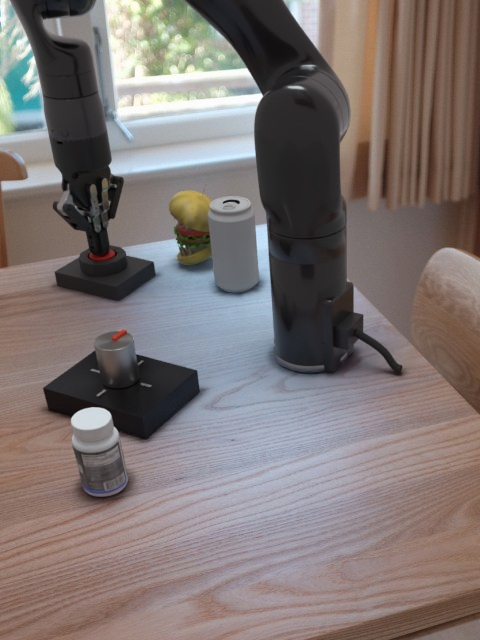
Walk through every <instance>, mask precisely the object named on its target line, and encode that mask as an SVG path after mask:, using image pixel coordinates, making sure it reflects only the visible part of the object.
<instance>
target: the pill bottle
mask: <svg viewBox="0 0 480 640" xmlns="http://www.w3.org/2000/svg"><path fill="white" fill-rule="evenodd" d="M70 425H71V431H72V434H73V435H72V437H71V446H72V449H73V453H74V456H75V461H76V465H77V470H78V474H79V477H80V481H81V485H82V488H83V490H84V491H85V492H86V494H88V495H90V496H92V497H98V498H99V497H100V498H103V497H110V496H115V495H116V494H118V493H120V492H121V491H123V490H124V489H125V488H126V486H127V485H128V481H129V477H128V471H127V466H126V461H125V456H124V451H123V447H122V442H121V437H120V432H119V431H117V429H116V428H115V427H114V426H113V421H112V416H111V414H110V412H109V411H107V410H106V409H103V408H98V407H91V408H86V409H83V410H80V411H78V412H77V413H75V414H74V415H73V417H71V418H70Z"/></svg>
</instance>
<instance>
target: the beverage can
mask: <svg viewBox="0 0 480 640" xmlns="http://www.w3.org/2000/svg"><path fill="white" fill-rule="evenodd" d="M208 222H209V231H210V241H211V250H212V256H211V260H212V268H213V277H214V283H215V285H216V286H217V287H219V288H221V289H222V291H224V292H228V293H234V294H235V293H245V292H247V291H249V290H251V289H253V288H254V287H255V286H256V285H257V284H258V283H259V281H260V271H259V270H260V269H259V257H258V244H257V230H256V229H257V228H256V214H255V210H254V209H253V207H252V202H251V201H250V199H249V198H246V197H243V196H238V195H229V196H228V195H227V196H221V197H218V198H215V199H212V202H211V203H210V210H209V212H208Z"/></svg>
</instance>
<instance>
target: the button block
mask: <svg viewBox="0 0 480 640" xmlns="http://www.w3.org/2000/svg"><path fill="white" fill-rule="evenodd" d="M109 249H111V250H113V251H114V252H115V257H114V258H112V259H109V260H106V261H93V260H90V257H89V255H90V253H91V252H90V250H89V247H88V248H87V249H84V250H83V251H82V252H80V253H79V255H78V257H77V258H75V259H73V260H71V261H70V262H68V263H67V264H65V265H63V266H61V267H60V268H58V269H57V270H55V271H54V277H55V281H56V286H57V287H60V288H64V289H68V290H74V291H78V292H81V293H86V294H90V295H93V296H98V297H101V298H106V299H109V300H114V301H118V302H119V301H120V300H122V299H124V298H125V297H126V296H128V295H130V293H132V292H134V291H136V290H137V289H138V288H140V287H141V286H142V285H144V284H145V283H146V282H149V281H150V280H151V279H153V278H154V277H156V275H157V274H156V266H155V262H154V261H153V260H148V259H145V258H139V257H136V256H130V255H127V252H126V250H125V249H123V247H121V246H116V245H113V244H110V245H109Z"/></svg>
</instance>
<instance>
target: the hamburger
mask: <svg viewBox="0 0 480 640" xmlns="http://www.w3.org/2000/svg"><path fill="white" fill-rule="evenodd" d="M206 186H207V184H206V183H205V184H204V185H203V188H202V189H201V190H200V192H199V191H197V190H181V191H179V192H177V193H175V194H174V195H173V196H172V197H171V198H170V200H169V203H168V212H169V213H170V216H172V217H173V220H175V221H177V224H175V226H173V233H174V236H176V237H175V241H176V243H177V246H178V250H179V252H178V253H177V255H176V259H177V261H178V262H179V263H180V264H181V265H183V266H194V265H198V264H200V263H203V262H205V261H206V260H208V259H209V258H212V250H211V241H210V231H209V222H208V212H209V210H210V203H211V202H212V201H213V199H212V198H211V197H209V196H208V195H206V194H204V193H205V190H206Z"/></svg>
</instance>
